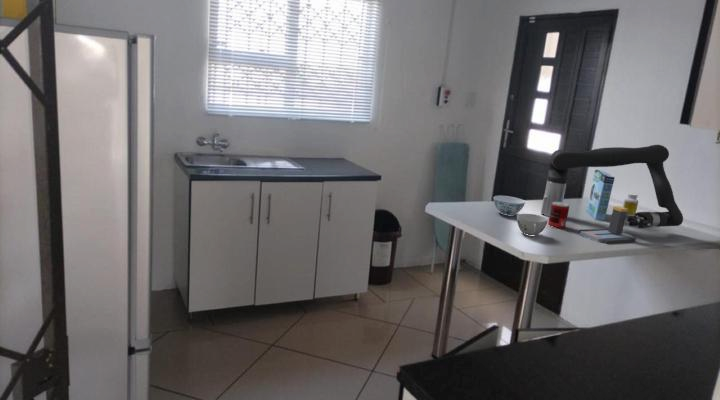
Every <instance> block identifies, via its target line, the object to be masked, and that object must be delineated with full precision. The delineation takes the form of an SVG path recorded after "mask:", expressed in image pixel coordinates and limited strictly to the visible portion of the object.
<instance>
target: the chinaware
mask: <svg viewBox="0 0 720 400" xmlns="http://www.w3.org/2000/svg"><path fill="white" fill-rule="evenodd" d="M493 203H494V206H495V208H496V209H497V210H498V211H499V213H500V212H501V213H503V214H507V215H514V216H515V214H519V212H520V211H522V209H523V208H524V207H525V204H526V201H525V200H524V199H522V198H519V197H514V196H509V195H495V196H493Z"/></svg>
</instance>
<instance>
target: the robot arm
mask: <svg viewBox="0 0 720 400" xmlns="http://www.w3.org/2000/svg"><path fill="white" fill-rule="evenodd" d="M669 152H670V151H669V150H668V148H667V147H665V146H664V145H662V144H653V145H648V146H642V147H621V146H620V147H618V146H617V147H616V146H615V147H614V146H613V147H600V148H594V149H590V150H586V151H566V150H565V149H557V150H555V151H554V152H553V153H552V154H551V156H550V158H549V164H548V165H549V166H548V170H547V171H548V172H547V179H546V183H545V184H546V186H545V190H544V194H543V199H542V204H541V210H540V215H542V214H544V215H543V216H546V217H550V211H551V206H552V202H563V203H564V197H565V193H566V189H567V183H568V173H569V172H568V171H569V169H576V168H582V167H583V168H584V167H585V168H606V167H607V168H610V167H611V168H612V167H621V166H626V165H627V166H628V165H632V164H645V165H646V167H647V169H648V171H649V174H650V176H651V180H652V183H653V187H654V188H653V189H654V192H655V195H656V196H655V197H656V200H657V204H658V207H660V208H664V209H666V210H667V211H636V214H635V215H627V214H626V218H625V222H624V223H627V224H628V226H629V227H635V228H636V227H637V228H638V229H651V228H658V227H659V228H660V227H678V226H681V225H682V224H683V222H684V216H683V213H682V211H681V210H680V208H679V206H678V205H677V203H676V200H675V196H674V191H673V187H672V185H671V184H670V181H669V179H668V177H667V174H666V171H665V166H664V163H665V162H666V161H667V160H668V158H669V156H670V153H669Z"/></svg>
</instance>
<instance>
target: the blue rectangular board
mask: <svg viewBox="0 0 720 400" xmlns="http://www.w3.org/2000/svg"><path fill="white" fill-rule="evenodd" d="M579 236H582V237H584V236H585V237H584V238H587V239H589V238H590V239H589V240H592V241H593V242H594V241H595V242H596V241H597V243H602V242H603V243H604V240H607V239H625V238H634V236H633V235H630V234H627V233H625V232H622V234H614V233H611V232H608V230H601V231H580V233H579Z"/></svg>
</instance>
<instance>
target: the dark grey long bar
mask: <svg viewBox="0 0 720 400" xmlns="http://www.w3.org/2000/svg"><path fill="white" fill-rule="evenodd" d="M636 240H637V239H636V238H634V237H633V238H625V239H607V240H604V242H603V243H604V244H606V245H611V244H626V243H636Z"/></svg>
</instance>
